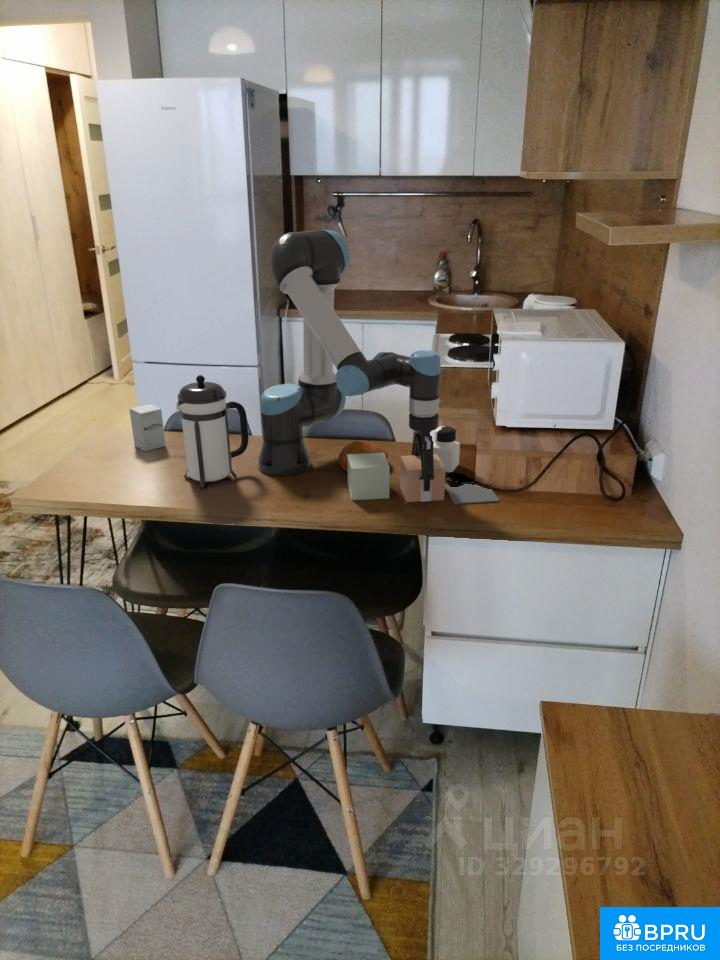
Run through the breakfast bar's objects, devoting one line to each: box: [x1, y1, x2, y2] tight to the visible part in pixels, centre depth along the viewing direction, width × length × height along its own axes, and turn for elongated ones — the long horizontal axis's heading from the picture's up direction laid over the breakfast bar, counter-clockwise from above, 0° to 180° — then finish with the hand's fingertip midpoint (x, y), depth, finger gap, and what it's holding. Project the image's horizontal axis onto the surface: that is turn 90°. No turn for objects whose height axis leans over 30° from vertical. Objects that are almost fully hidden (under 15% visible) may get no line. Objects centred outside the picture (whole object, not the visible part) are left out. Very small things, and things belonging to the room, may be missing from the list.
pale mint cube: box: [347, 453, 391, 501], centre depth 185 cm, size 10×10×9 cm
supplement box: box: [129, 403, 167, 453], centre depth 216 cm, size 7×7×13 cm
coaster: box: [444, 482, 500, 505], centre depth 185 cm, size 12×12×1 cm
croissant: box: [338, 440, 389, 473], centre depth 202 cm, size 14×16×8 cm
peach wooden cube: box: [399, 454, 446, 503], centre depth 183 cm, size 10×10×9 cm
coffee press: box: [174, 374, 249, 490], centre depth 190 cm, size 17×16×30 cm
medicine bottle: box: [433, 425, 461, 474], centre depth 199 cm, size 7×7×12 cm
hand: (421, 492), depth 185 cm, fingers closed on peach wooden cube, 10 cm apart
